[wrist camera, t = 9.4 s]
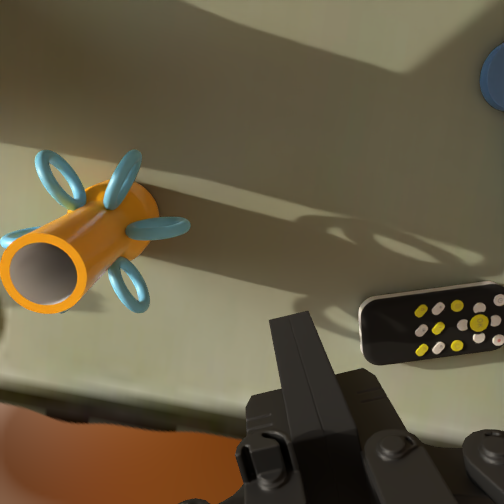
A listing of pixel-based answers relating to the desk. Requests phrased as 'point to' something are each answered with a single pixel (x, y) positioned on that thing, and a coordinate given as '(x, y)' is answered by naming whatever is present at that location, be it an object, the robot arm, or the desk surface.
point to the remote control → (432, 323)
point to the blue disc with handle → (493, 78)
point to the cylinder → (85, 239)
